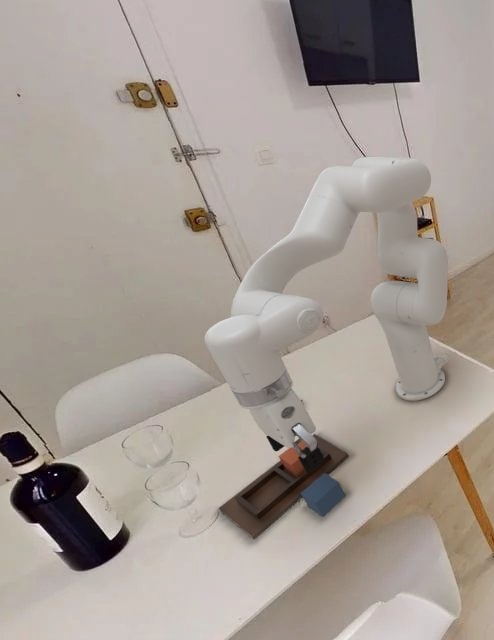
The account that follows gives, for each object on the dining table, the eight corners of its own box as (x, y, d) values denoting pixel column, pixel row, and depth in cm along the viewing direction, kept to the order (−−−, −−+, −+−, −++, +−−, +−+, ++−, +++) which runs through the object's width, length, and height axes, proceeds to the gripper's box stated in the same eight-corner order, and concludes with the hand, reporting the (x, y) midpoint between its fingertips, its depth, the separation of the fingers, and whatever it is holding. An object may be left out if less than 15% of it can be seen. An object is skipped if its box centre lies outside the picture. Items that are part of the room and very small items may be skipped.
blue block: (331, 486, 85) (324, 472, 83) (345, 495, 83) (339, 481, 81) (308, 507, 81) (300, 493, 79) (322, 517, 79) (315, 503, 77)
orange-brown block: (309, 452, 91) (301, 438, 89) (321, 460, 89) (314, 446, 87) (286, 469, 88) (278, 456, 85) (298, 479, 86) (290, 465, 83)
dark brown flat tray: (316, 436, 96) (312, 429, 95) (349, 456, 91) (345, 448, 90) (220, 511, 81) (214, 503, 80) (254, 539, 76) (248, 531, 75)
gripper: (317, 387, 66) (347, 458, 75) (258, 357, 74) (292, 424, 82) (268, 419, 61) (307, 492, 69) (210, 383, 68) (251, 452, 76)
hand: (299, 455), depth 75 cm, fingers open, 9 cm apart
